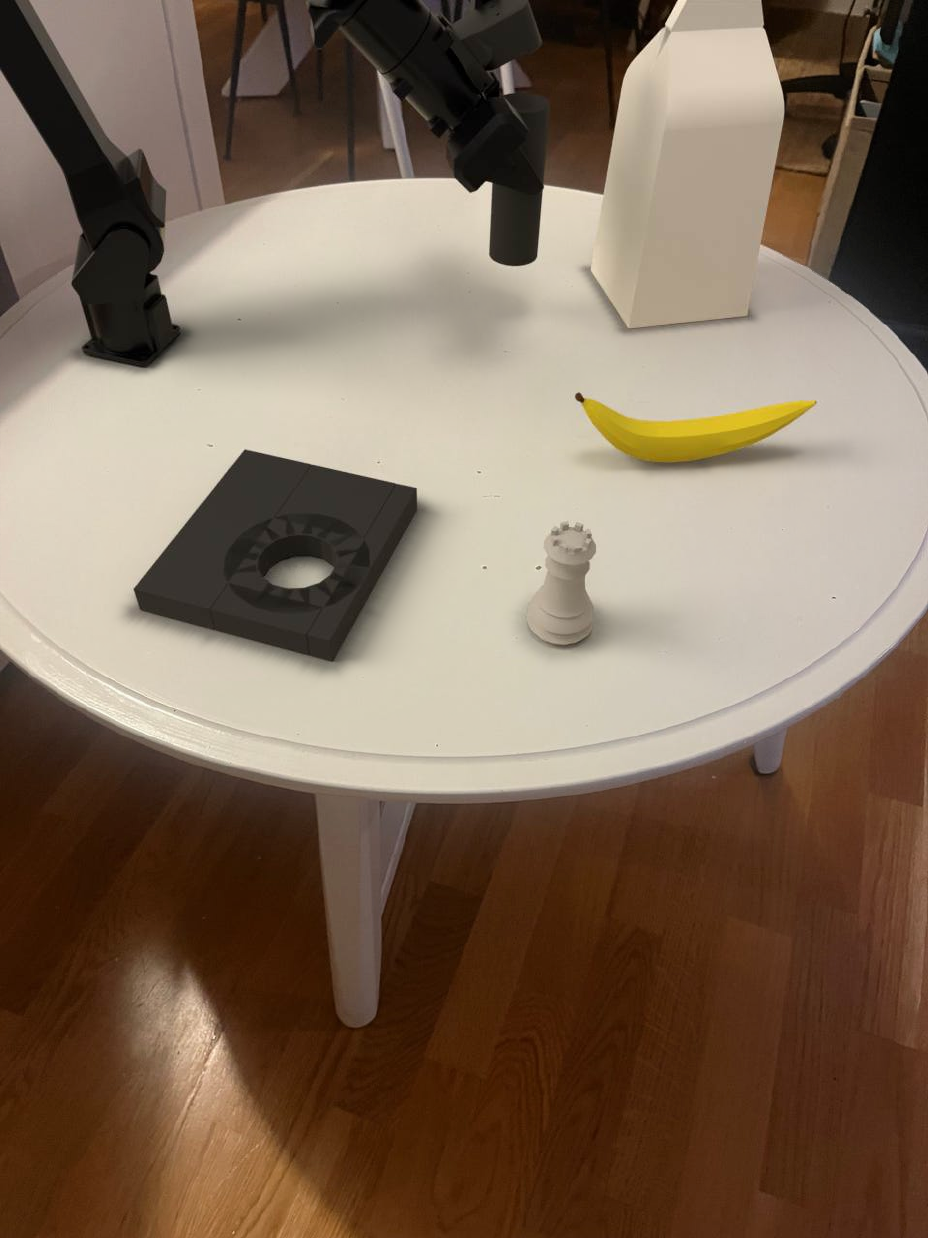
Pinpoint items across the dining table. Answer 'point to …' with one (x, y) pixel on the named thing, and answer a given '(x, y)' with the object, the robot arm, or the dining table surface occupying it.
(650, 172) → the milk
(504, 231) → the post
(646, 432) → the banana
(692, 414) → the dining table surface
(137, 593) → the socket pad
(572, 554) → the rook chess piece
